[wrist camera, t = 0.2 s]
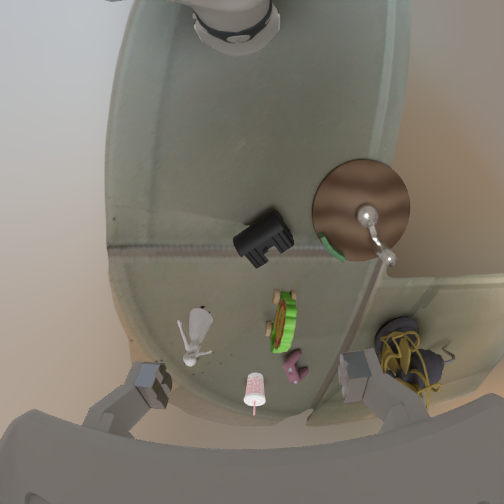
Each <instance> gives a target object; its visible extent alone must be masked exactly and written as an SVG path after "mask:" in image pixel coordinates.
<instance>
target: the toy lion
mask: <svg viewBox="0 0 504 504" xmlns="http://www.w3.org/2000/svg"><path fill="white" fill-rule="evenodd" d="M296 298H297V292H296V291H294V290H291V291H290V293H289V292H284V291H281V292H280V289H276V288H275V289H274V291H273V295H272V303H273V304H276V305H277V304H278V307H277V311H276V315H275V319H274V322H273V323H272V322H271V321H267V322H266V325H265V336H271V342H270V345H271V352H273V353H282V352H287V351H288V349H289V348H290V347H291V342H292V339H293V336H294V329H295V326H296V315H297V307H296Z"/></svg>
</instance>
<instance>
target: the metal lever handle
mask: <svg viewBox="0 0 504 504" xmlns="http://www.w3.org/2000/svg"><path fill="white" fill-rule="evenodd" d="M378 217H379V215H378V212H377V210H376V209H375V208H374V207H373V206H371V205H370V204H362V205H361V206H359V207H358V209H357V210H356V219H357V221H358V222H359V223H360V224H361V225H362V226H363V227H366V228H368V230H369V233H370V236H371V246H372V247H373V249H374V250H375V253H376V254H377V255H379V256H380V258H381V259H382V260H383V262H384V263H385V264H386V266H388V267H391V266H393V265H395V263H396V262H397V256H396V255H395V254H394V253H393V252H392V250H391V249H390V248H389V247H388V246H387V245H386V244H385V242H384V241H383V240H382V239H381V238H380V237H377V233H376V230H375V227H374V225H375V224H376V223H377V221H378Z"/></svg>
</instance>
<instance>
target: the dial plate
mask: <svg viewBox="0 0 504 504" xmlns="http://www.w3.org/2000/svg"><path fill="white" fill-rule="evenodd" d="M362 204H370V205H371V206H373V207H374V208H375V209H376V210H377V212H378V215H379V217H378V221H377V223H376V224H375V225H374V227H375V230H376V233H377V237H380V238H381V239H382V240H383V241H384V242H385V244H386V245H387V246H388V247H389V248H390V249H391V248H392V247H393V246H394V245H395V244H396V243H397V241H398V240H399V239H400V238H401V236H402V235H403V233H404V231H405V229H406V226H407V223H408V220H409V215H410V199H409V195H408V191H407V189H406V186H405V184H404V182H403V181H402V179H401V178H400V176H399V175H398V174H397V173H396V172H395V171H394V170H392V169H391V168H390V167H388V166H386V165H384V164H382V163H379V162H376V161H373V160H365V159H360V160H353V161H349V162H346V163H344V164H342V165H340V166H338V167H336V168H335V169H334V170H332V171H331V172H330V173H329V174H328V175H327V176H326V177H325V178H324V180H323V181H322V182H321V184H320V186H319V187H318V189H317V192H316V194H315V197H314V200H313V206H312V219H313V225H314V228H315V231H316V233H317V236H318V237H319V239H320V241H321V243H322V244H323V245H324V246H325V248H326V249H327V250H328V251H329V253H330V254H332V255H333V256H334V257H335V258H337V259H338V260H340V261H342V262H343V261H344V260H349V261H366V260H370V259H374V258H376V257H379V255H377V254H376V253H375V250H374V249H373V247H372V246H371V236H370V233H369V230H368V228H366V227H363V226H362V225H361V224H360V223H359V222H358V221H357V219H356V210H357V209H358V207H359V206H361V205H362Z"/></svg>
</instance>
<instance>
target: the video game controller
mask: <svg viewBox="0 0 504 504" xmlns="http://www.w3.org/2000/svg"><path fill="white" fill-rule="evenodd" d="M301 354H302V352H301V351H300V350H297V351H295V352H293V353H292V354H291V355H290V356H289V357H288V358H287V360H285V362H284V364H283V367H284V370H285V372H286V374H287V377H288V379H289V381H290V383H291V384H296V383H299V382H301V380H302V379H303V378H304V377H305V376H306V375H307V374H308V371H309V370H308V368H303V369H301V370H300V371H299V372H298V367H297V366H295V363H296V361H297V360H298V359H299V357H300V356H301Z"/></svg>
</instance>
